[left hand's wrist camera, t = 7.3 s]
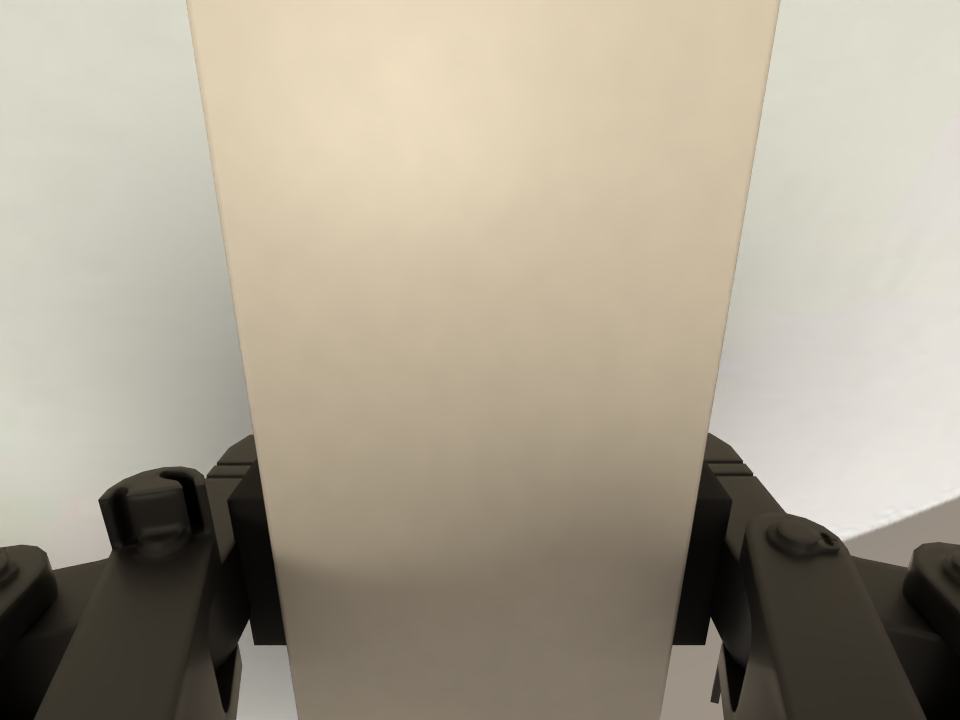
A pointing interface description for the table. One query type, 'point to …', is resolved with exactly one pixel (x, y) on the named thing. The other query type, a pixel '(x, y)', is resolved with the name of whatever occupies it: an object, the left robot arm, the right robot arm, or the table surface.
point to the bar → (481, 330)
